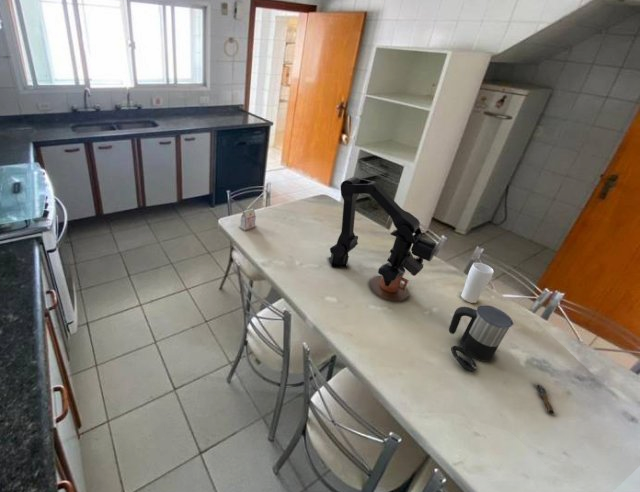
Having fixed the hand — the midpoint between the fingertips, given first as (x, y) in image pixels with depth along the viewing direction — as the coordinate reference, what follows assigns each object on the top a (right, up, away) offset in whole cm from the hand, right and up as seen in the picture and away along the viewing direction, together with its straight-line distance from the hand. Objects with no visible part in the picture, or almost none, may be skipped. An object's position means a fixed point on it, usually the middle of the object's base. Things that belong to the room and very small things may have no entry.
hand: (390, 281), depth 128 cm
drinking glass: (+30, -7, -1) cm, 31 cm away
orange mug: (+1, -3, +1) cm, 3 cm away
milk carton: (-55, +18, +40) cm, 71 cm away
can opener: (+26, -24, -37) cm, 51 cm away
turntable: (0, -3, +2) cm, 4 cm away
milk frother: (+14, -18, -25) cm, 33 cm away
